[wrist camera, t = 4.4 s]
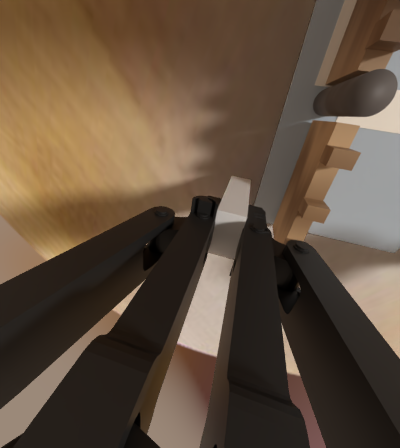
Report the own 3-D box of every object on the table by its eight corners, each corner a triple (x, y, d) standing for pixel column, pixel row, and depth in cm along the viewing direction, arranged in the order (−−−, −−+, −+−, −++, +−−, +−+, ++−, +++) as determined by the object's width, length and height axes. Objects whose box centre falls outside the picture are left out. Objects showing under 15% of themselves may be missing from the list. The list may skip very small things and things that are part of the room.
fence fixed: (385, -101, 9) (566, -403, 4) (423, -100, 9) (671, -420, 4) (307, 114, 14) (340, 113, 8) (331, 118, 14) (381, 120, 8)
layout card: (340, -81, 10) (344, -88, 10) (651, -75, 8) (671, -84, 8) (250, 217, 18) (250, 219, 18) (392, 250, 17) (395, 253, 16)
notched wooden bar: (312, 119, 13) (345, 122, 8) (329, 122, 13) (374, 127, 8) (271, 225, 18) (278, 270, 12) (284, 228, 17) (296, 275, 12)
